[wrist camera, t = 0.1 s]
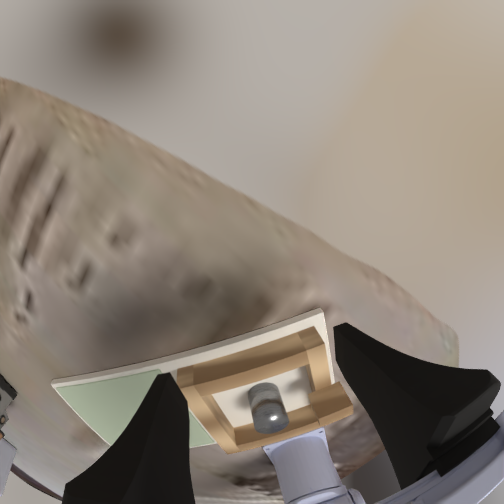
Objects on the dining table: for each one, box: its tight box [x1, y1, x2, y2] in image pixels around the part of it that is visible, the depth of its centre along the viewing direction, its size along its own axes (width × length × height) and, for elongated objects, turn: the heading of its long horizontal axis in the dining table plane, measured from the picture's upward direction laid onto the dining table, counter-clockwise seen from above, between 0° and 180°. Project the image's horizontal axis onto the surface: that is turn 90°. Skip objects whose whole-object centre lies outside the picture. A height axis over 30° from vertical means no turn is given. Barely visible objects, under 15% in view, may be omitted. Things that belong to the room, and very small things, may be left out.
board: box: [51, 307, 335, 448], centre depth 24 cm, size 14×28×1 cm, turn 106°
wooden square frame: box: [176, 326, 353, 454], centre depth 22 cm, size 12×13×6 cm
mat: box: [56, 369, 214, 447], centre depth 23 cm, size 13×13×1 cm
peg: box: [248, 382, 289, 434], centre depth 22 cm, size 3×3×4 cm
